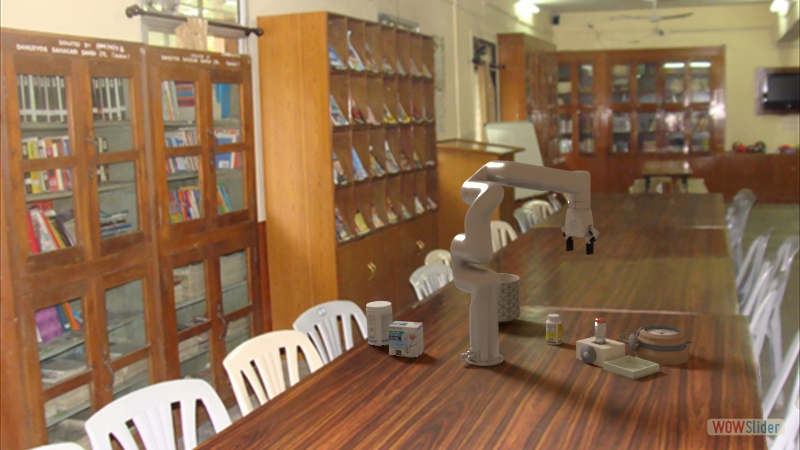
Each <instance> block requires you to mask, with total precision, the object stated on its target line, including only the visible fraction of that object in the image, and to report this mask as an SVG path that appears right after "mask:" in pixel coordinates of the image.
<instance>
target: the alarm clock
mask: <svg viewBox="0 0 800 450" xmlns="http://www.w3.org/2000/svg"><path fill="white" fill-rule="evenodd" d="M627 335H629V337H628V339H624V338H620V337H622V336H627ZM617 340H620V341H623V342H624V344H625V345H628V348H629V349H630V351H632V352H634V357H637V358H640V359H643V360H647V361H650V362H654V363H657V364H659V366H674V365H675V366H676V365H682V364H685V363H687V362H688V361H689V359H690V351H689V349H688V347H687V345H688V344H693V341H690V340H687V338H686V337H685V332H684V331H682V330H680V329H679V328H676V327H673V326H668V325H649V326H641V327H640V328H638V330H637V331H636V333H629V332H628V333H627V332H626V333H621V334H619V335H618V336H617ZM686 344H687V345H686ZM686 361H687V362H686Z"/></svg>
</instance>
